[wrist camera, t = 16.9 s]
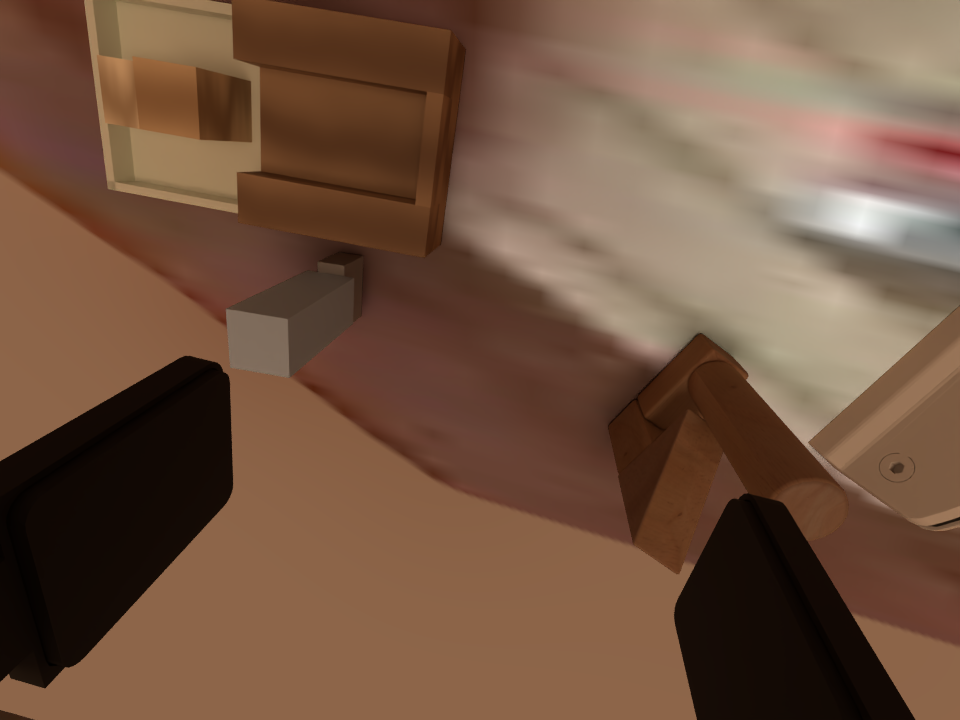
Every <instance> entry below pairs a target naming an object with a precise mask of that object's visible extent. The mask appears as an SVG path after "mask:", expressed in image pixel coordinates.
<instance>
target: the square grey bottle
mask: <svg viewBox="0 0 960 720" xmlns="http://www.w3.org/2000/svg"><path fill="white" fill-rule="evenodd" d="M362 283H363V256H361V255H355V254H348V253H342V252H338V253H336V254H334V255H331V256H329V257H327V258H325V259H322V260H320V261H318V272H315V271H308V270H307V271H305V272H303V273H301V274H299V275H297V276H295V277H293V278H290V279H288V280H286V281H284V282H282V283H280V284H278V285H275V286H273V287H271V288H269V289H267V290H265V291H263V292H261V293H258V294H256V295H254V296H252V297H250V298H248V299H246V300H244V301H241V302H239V303H237V304H235V305H233V306H231V307H229V308H227V309H226V318H227V331H228V344H229V357H230V367H231V368H236V369H242V370H247V371H253V372H259V373H265V374H270V375H276V376H282V377H288V378H290V377H291V376H292V375H293V374H294V373H296V372H297V371H298V370H299V369H300V368H301V367H303V366H304V365H305V364H306V363H307V362H308V361H310V360H311V359H312V358H313V357H314V356H315V355H317V354H318V353H319V352H320V351H321V350H323V349H324V348H325V347H326V346H327V345H328V344H330V343H331V342H332V341H333V340H334V339H335V338H337V337H338V336H339V335H340V334H341V333H342V332H344V331H345V330H346V329H347V328H348V327H350V326H351V325H352V324H353V322H355V321H356V320H357V319H358V318H359V317H361V311H362Z"/></svg>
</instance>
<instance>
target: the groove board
mask: <svg viewBox="0 0 960 720" xmlns="http://www.w3.org/2000/svg"><path fill="white" fill-rule="evenodd" d="M232 31H233V59H236V60H239V61H242V62H245V63H249V64H252V65H255V66H258V67H260V132H261V171H252V172H237V198H238V223H243V224H248V225H253V226H259V227H264V228H269V229H275V230H280V231H285V232H291V233H296V234H301V235H306V236H312V237H317V238H322V239H328V240H333V241H338V242H344V243H349V244H354V245H359V246H365V247H370V248H375V249H381V250H386V251H391V252H397V253H402V254H407V255H412V256H418V257H423V258H425V257H426V256H427V255H428V254H430V253H431V252H432V251H433V250H435V249H436V248H437V247H438V246H439V245H441V238H442V231H443V223H444V215H445V207H446V200H447V192H448V184H449V176H450V168H451V161H452V153H453V145H454V137H455V129H456V122H457V114H458V106H459V98H460V91H461V83H462V75H463V67H464V59H465V52H466V49H465V48H464V47H463V45H462V44H461V43H460V41H459V40H458V39H457V37H456V36H455V35H454V33H453V32H452V31H451V30H447V29H441V28H434V27H428V26H422V25H416V24H410V23H404V22H398V21H391V20H385V19H379V18H373V17H367V16H361V15H355V14H349V13H342V12H336V11H330V10H324V9H318V8H312V7H306V6H299V5H293V4H287V3H281V2H275V1H269V0H232Z"/></svg>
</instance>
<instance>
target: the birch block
mask: <svg viewBox="0 0 960 720" xmlns="http://www.w3.org/2000/svg"><path fill="white" fill-rule="evenodd" d="M97 61H98V69H99V77H100V85H101V93H102V101H103V109H104V118H105V123H108V124H114V125H120V126H125V127H131V128H136V129H139V119H138V109H137V99H136V89H135V79H134V69H133V61H131V60H125V59H119V58H113V57H107V56H102V55H97ZM153 132H154V131H153Z"/></svg>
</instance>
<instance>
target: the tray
mask: <svg viewBox="0 0 960 720" xmlns="http://www.w3.org/2000/svg"><path fill="white" fill-rule="evenodd" d="M84 3H85V11H86V19H87V27H88V34H89V42H90V50H91V58H92V66H93V74H94V82H95V89H96V97H97V105H98V113H99V121H100V129H101V137H102V145H103V152H104V160H105V168H106V176H107V184H108V189H111V190H116V191H122V192H127V193H132V194H138V195H143V196H148V197H154V198H159V199H164V200H170V201H175V202H180V203H186V204H191V205H196V206H202V207H207V208H212V209H218V210H223V211H228V212H234V213H238V198H237V172H252V171H261V132H260V67H258V66H255V65H252V64H249V63H245V62H242V61H239V60H236V59H233V31H232V4H228V3H222V2H215V1H209V0H84ZM97 55H102V56H107V57H113V58H119V59H125V60H131V61H133V58H132V56H134V57H140V58H146V59H152V60H158V61H163V62H169V63H175V64H181V65H187V66H193V67H198V68H201V69H205V70H209V71H213V72H217V73H221V74H225V75H229V76H233V77H237V78H240V79H244V80H248V81H251V105H252V142H233V141H214V140H198V139H193V138H187V137H181V136H176V135H170V134H165V133H159V132H153V131H148V130H142V129H136V128H131V127H125V126H120V125H114V124H108V123H105V118H104V109H103V101H102V93H101V85H100V77H99V69H98V61H97Z"/></svg>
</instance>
